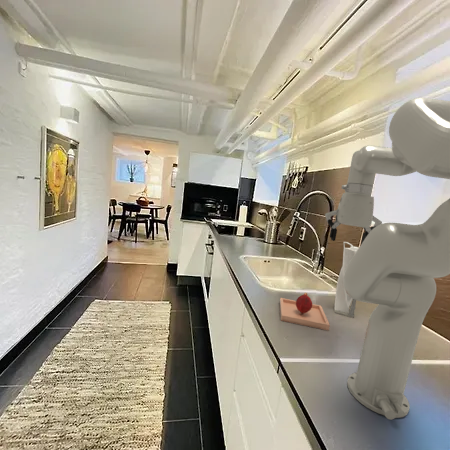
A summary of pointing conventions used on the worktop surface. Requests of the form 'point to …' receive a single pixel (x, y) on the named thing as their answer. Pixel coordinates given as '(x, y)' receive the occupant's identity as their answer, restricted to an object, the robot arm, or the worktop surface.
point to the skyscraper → (341, 295)
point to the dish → (303, 315)
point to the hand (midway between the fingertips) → (348, 242)
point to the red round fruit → (304, 303)
